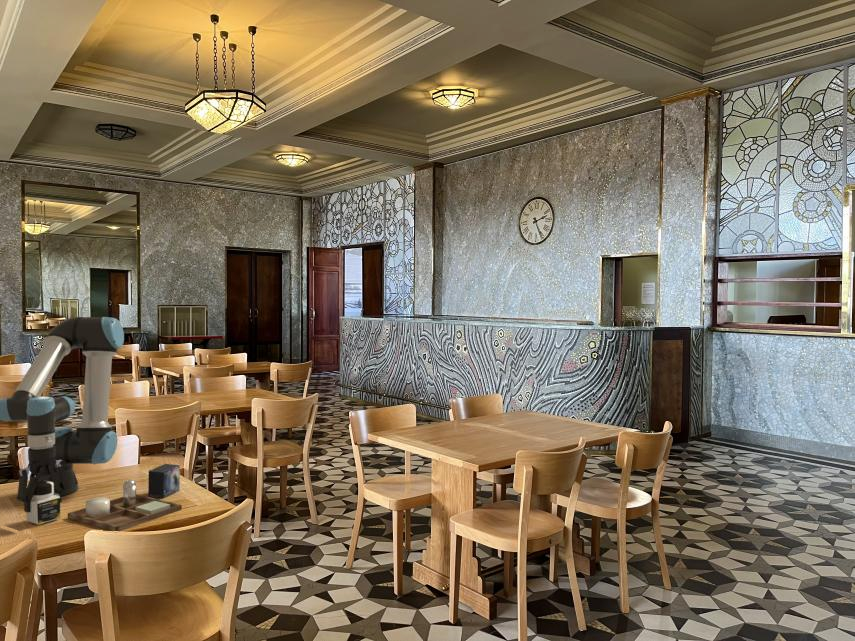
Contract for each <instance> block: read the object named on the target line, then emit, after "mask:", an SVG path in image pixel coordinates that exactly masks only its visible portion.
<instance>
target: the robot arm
mask: <svg viewBox="0 0 855 641" xmlns="http://www.w3.org/2000/svg"><path fill="white" fill-rule="evenodd" d="M123 328H124V327H123V325H122V323H121V321H120V320H119V319H117V318H115V317H109V316H74V317H70V318H67V319H65V320H63V321H60V322H59V323H58V324H56V325H55V326H54V327H53V328H52V329H51V330H49V332H48V333H47V334H46V336H45V337H44V339H42V340H43V341H42V348H40V349H41V350H40V351H39V353H38V354H37V355H36V357H35V359H34V361H32V363H31V365H30V367H29V368H28V370H27V371H26V373H25V375H24V376H23V378H22V379H21V381H20V383H19V384H18V385H17V387H16V389H15V391H14V392H13V393H12V394H11V396H10V397H4V398H0V421H3V422H27V424H26V426H27V447H28V448H27V460H28V465H27V467H24V468H19V469H18V470H17V473H18V476H19V477H18V478H19V479H18V488H17V494H16V495H17V497H16V501H18V502H21V503H23V510H24V512H25V513H26V512H27V520H26V522H29V523H33V522H34V501H31V500H32V497H33V494H34V491H35V488H36V485H37V482H39V481H51V482H53V483H54V494H53V495H56V496H59V497H60V504H61V503H62V497H63V496H67V495H71V494H73V493H76V492H78V491H79V482H78V478H77V476H76V473H75V471H74V465H98V464H99V465H101V464H106V463H108V462H109V461H111V460H112V458H113V456H115V453H116V449H117V447H118V446H117V445H118V434H117V433H116V432H115V431H114V430H113V428H112V427H113V425H111V424H110V423H109V409H110V393H111V376H112V364H113V363H112V362H113V360H112V359H113V358H114V357H115V356H116V355H117V352H118V350H119V349H121V348H122V347H123V346H124V343H125V342H124V341H125V332H124V329H123ZM77 348H79V349H81V350H82V352H81V353H82V354H83V356H85V357H86V358H85V372H84V387H83V400H82V416H81V422H80V423H79V424H78V425H76V431H74V429H73V427H72V426H61V427H56V423H58V422H60V421H64V420H67V419H69V417H71V416H72V415H74V413H75V411H76V404H75V402H74V400H73V399H72V398H71V397H68V396H65V395H63V396H57V397H54V398H53V397H52V396H42V394H43V392H44V391H45V389H46V387H47V385H48V384H49V382H50V380H51V379H52V377H53V376H54V374H55V372H56V371H57V369H58V367H59V365H60V364H61V362H62V360H63V359H64V357H66V356H68V355H69V354H70V353H71V351H72V350H73V349H77ZM29 472H30V473H29ZM29 474H30V475H29ZM28 475H29V476H28ZM28 480H29V481H28ZM33 524H34V523H33Z"/></svg>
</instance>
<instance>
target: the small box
mask: <svg viewBox="0 0 855 641" xmlns="http://www.w3.org/2000/svg"><path fill="white" fill-rule="evenodd" d="M180 478H181V476H180V465H179V464H171V463H163V464H162V465H159V466H157V467H155V468H152V469H149V470H148V479H147V480H148V481H147V482H148V489H147V490H148V491H147V492H148V494H147V497H150V498H155V499H159V500H161V499H162V500H164V499H165V498H168V497H170V496H172V495H174V494H176V493H178V492H180V490H181V489H180V484H181V483H180V480H181V479H180Z"/></svg>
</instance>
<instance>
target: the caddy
mask: <svg viewBox="0 0 855 641" xmlns="http://www.w3.org/2000/svg"><path fill="white" fill-rule="evenodd" d="M153 501H158V502H162V503H166V504H170V508H168V509H165V510H162V511H159V512H156V513H153V514H151V515H150V514H146V513H142V512H138V511H136V507H137V506H141V505H144V504H147V503H150V502H153ZM182 506H183V505H182V504H179V503H175V502H171V501H167V500H164V499H162V500H161V499H159V498H150V497H148V496H147V495H141V494H137V493H136V505H135V506H132V507H129V508H125V507H123V496H121V497H118V498H114V499H110V514H107V515H104V516H101V517H98V518H95V519H91V518H88V517H86V507H85V508H81V509H78V510H74V511H70V512H68V513H67V519H69V520H73V521H74V522H75V521H76V522H79V523H82V524H86V525H89V526H93V527H95V528H101V529H104V530H108V531H110V530H114V531H119V532H122V531H124V530H127V529H131V528H134V527H136V526H140V525H141V524H146V523H148V522H150V521H154V520H156V519H159V518H162V517H164V516H167V515H168V516H169V515H171V514H174V513H176V512H179V511H182V509H183V508H182ZM114 531H113V532H114Z"/></svg>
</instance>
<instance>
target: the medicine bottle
mask: <svg viewBox="0 0 855 641" xmlns="http://www.w3.org/2000/svg"><path fill="white" fill-rule="evenodd" d="M53 494H54V483H53V482H51V481H39V482H37V485H36V488H35V491H34V494H33V497H32V500H31V501H34V522H33V524H35V525H38V526H40V525H42V524H46V523H49V522H52V521H57V520H58V519H61V503H60V497H59V496H56V495H53ZM25 517H26V521H27V512H25Z"/></svg>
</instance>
